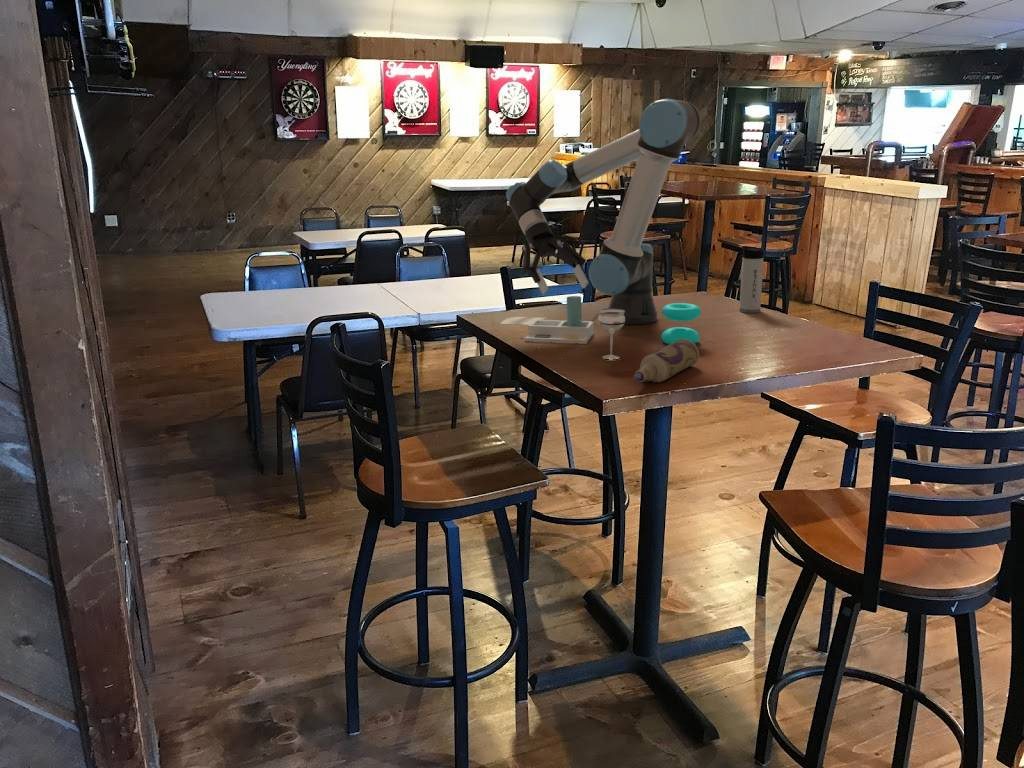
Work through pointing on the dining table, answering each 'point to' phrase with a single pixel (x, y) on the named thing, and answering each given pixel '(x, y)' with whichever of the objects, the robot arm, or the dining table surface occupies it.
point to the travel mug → (751, 279)
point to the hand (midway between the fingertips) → (565, 288)
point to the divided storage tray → (559, 332)
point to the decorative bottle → (667, 361)
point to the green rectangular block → (574, 311)
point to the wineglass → (611, 325)
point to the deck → (520, 320)
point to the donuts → (680, 314)
